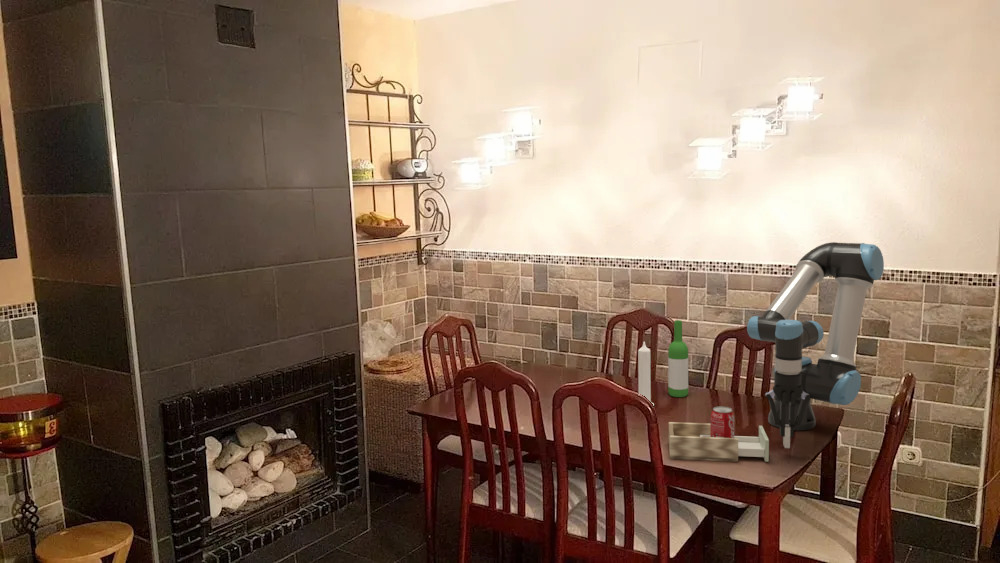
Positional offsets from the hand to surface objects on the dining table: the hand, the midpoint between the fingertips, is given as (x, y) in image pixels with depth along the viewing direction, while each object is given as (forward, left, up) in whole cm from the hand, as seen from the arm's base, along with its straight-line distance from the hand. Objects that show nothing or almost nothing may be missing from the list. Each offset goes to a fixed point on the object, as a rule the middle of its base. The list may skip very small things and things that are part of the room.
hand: (786, 446), depth 217 cm
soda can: (+19, 0, -1) cm, 19 cm away
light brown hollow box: (+25, 0, -3) cm, 25 cm away
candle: (+43, -46, -3) cm, 63 cm away
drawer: (+16, 0, -3) cm, 16 cm away
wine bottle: (+30, -61, -3) cm, 68 cm away
